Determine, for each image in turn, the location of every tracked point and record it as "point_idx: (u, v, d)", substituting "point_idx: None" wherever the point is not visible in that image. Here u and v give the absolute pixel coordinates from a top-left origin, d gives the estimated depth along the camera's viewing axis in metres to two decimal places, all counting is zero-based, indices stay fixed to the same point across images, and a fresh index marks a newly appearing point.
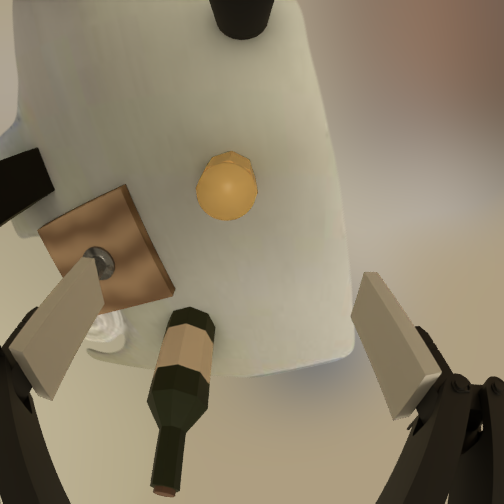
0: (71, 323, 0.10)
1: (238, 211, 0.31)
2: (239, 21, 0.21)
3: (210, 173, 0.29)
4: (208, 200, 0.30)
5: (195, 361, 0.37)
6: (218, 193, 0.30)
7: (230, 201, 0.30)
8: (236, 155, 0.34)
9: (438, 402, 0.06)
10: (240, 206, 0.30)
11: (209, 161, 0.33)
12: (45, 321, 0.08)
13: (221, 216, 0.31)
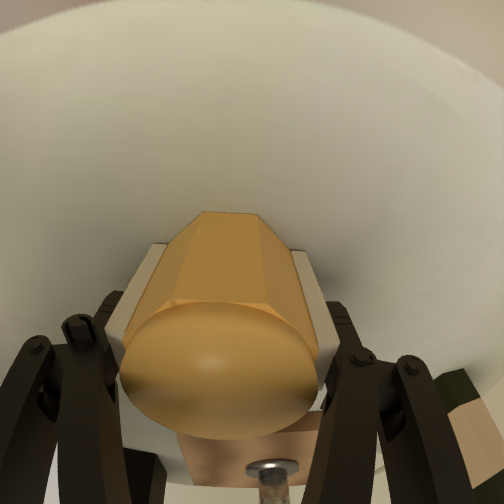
0: None
1: (296, 389, 0.08)
2: None
3: (144, 404, 0.08)
4: (224, 427, 0.09)
5: (477, 469, 0.12)
6: (212, 410, 0.08)
7: (251, 398, 0.08)
8: (170, 249, 0.13)
9: (338, 380, 0.08)
10: (283, 382, 0.08)
11: None
12: None
13: (286, 419, 0.09)
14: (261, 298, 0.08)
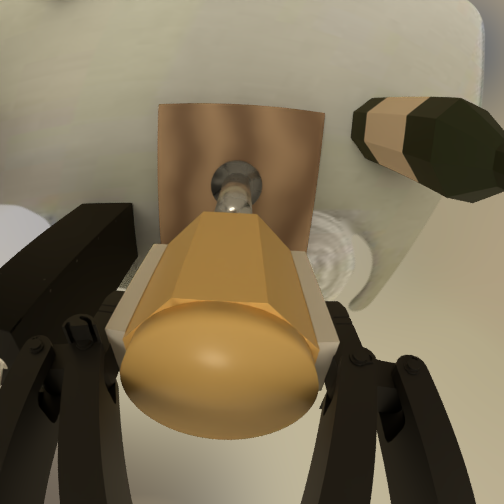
0: None
1: (296, 388, 0.08)
2: None
3: (145, 404, 0.08)
4: (224, 427, 0.09)
5: (414, 101, 0.19)
6: (212, 410, 0.08)
7: (252, 397, 0.08)
8: (171, 249, 0.13)
9: (338, 380, 0.08)
10: (283, 382, 0.08)
11: None
12: (139, 301, 0.10)
13: (286, 418, 0.09)
14: (261, 297, 0.08)
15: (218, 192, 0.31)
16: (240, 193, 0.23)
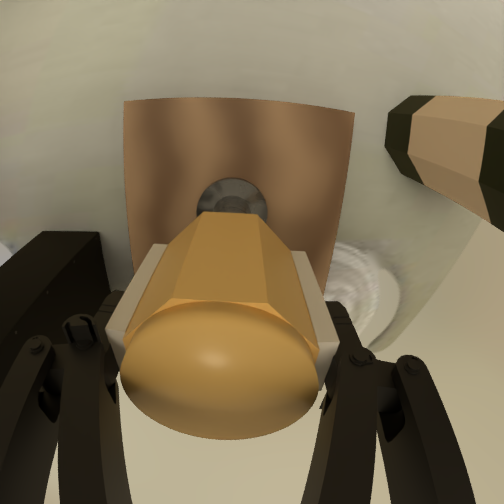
0: None
1: (297, 388, 0.08)
2: None
3: (145, 404, 0.08)
4: (224, 427, 0.09)
5: (488, 105, 0.11)
6: (212, 410, 0.08)
7: (252, 398, 0.08)
8: (171, 249, 0.13)
9: (338, 380, 0.08)
10: (283, 382, 0.08)
11: None
12: (139, 301, 0.10)
13: (286, 419, 0.09)
14: (261, 298, 0.08)
15: None
16: None
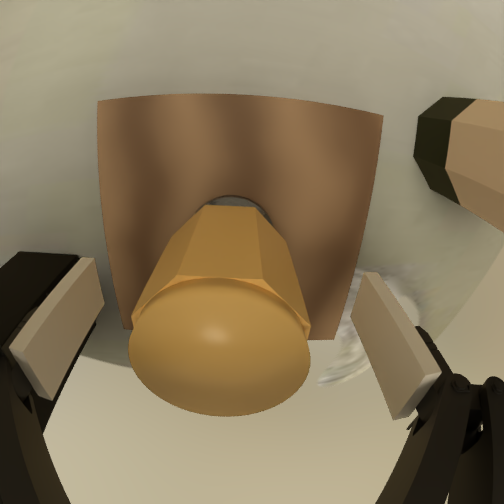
0: (71, 323, 0.10)
1: (290, 361, 0.09)
2: None
3: (150, 379, 0.09)
4: (223, 402, 0.10)
5: None
6: (212, 383, 0.09)
7: (249, 369, 0.09)
8: (175, 239, 0.14)
9: (438, 402, 0.06)
10: (277, 353, 0.09)
11: None
12: (45, 321, 0.08)
13: (281, 393, 0.10)
14: (257, 275, 0.09)
15: None
16: None
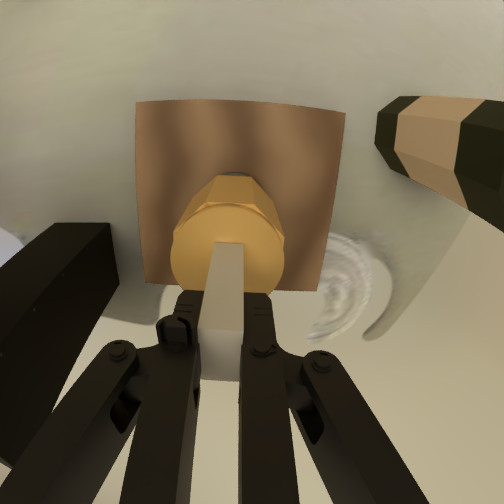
0: None
1: (271, 256, 0.15)
2: None
3: (181, 274, 0.16)
4: None
5: (464, 103, 0.13)
6: None
7: (246, 262, 0.16)
8: (197, 196, 0.20)
9: (241, 375, 0.08)
10: (263, 249, 0.15)
11: None
12: (223, 299, 0.11)
13: (267, 286, 0.16)
14: (251, 203, 0.15)
15: None
16: None
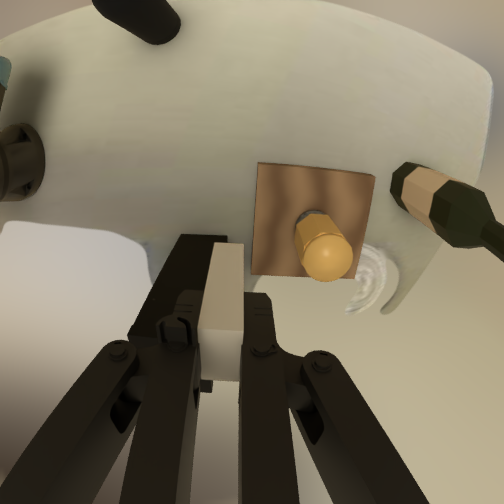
0: None
1: (347, 256, 0.34)
2: (163, 15, 0.25)
3: (308, 265, 0.35)
4: (327, 274, 0.35)
5: (438, 180, 0.31)
6: (326, 265, 0.35)
7: (337, 259, 0.34)
8: (302, 225, 0.39)
9: (241, 375, 0.08)
10: (345, 253, 0.34)
11: (297, 251, 0.39)
12: (223, 299, 0.11)
13: (344, 270, 0.35)
14: (339, 233, 0.34)
15: None
16: None
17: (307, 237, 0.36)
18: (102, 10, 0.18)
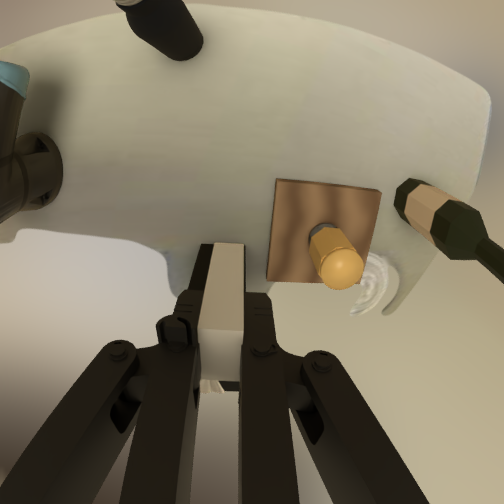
0: None
1: (359, 267, 0.38)
2: (192, 35, 0.28)
3: (324, 275, 0.39)
4: (341, 283, 0.39)
5: (439, 199, 0.36)
6: (340, 275, 0.39)
7: (350, 270, 0.38)
8: (317, 238, 0.43)
9: (241, 375, 0.08)
10: (356, 265, 0.38)
11: None
12: (223, 299, 0.11)
13: (355, 279, 0.39)
14: (352, 247, 0.38)
15: None
16: None
17: (324, 250, 0.40)
18: (138, 30, 0.21)
